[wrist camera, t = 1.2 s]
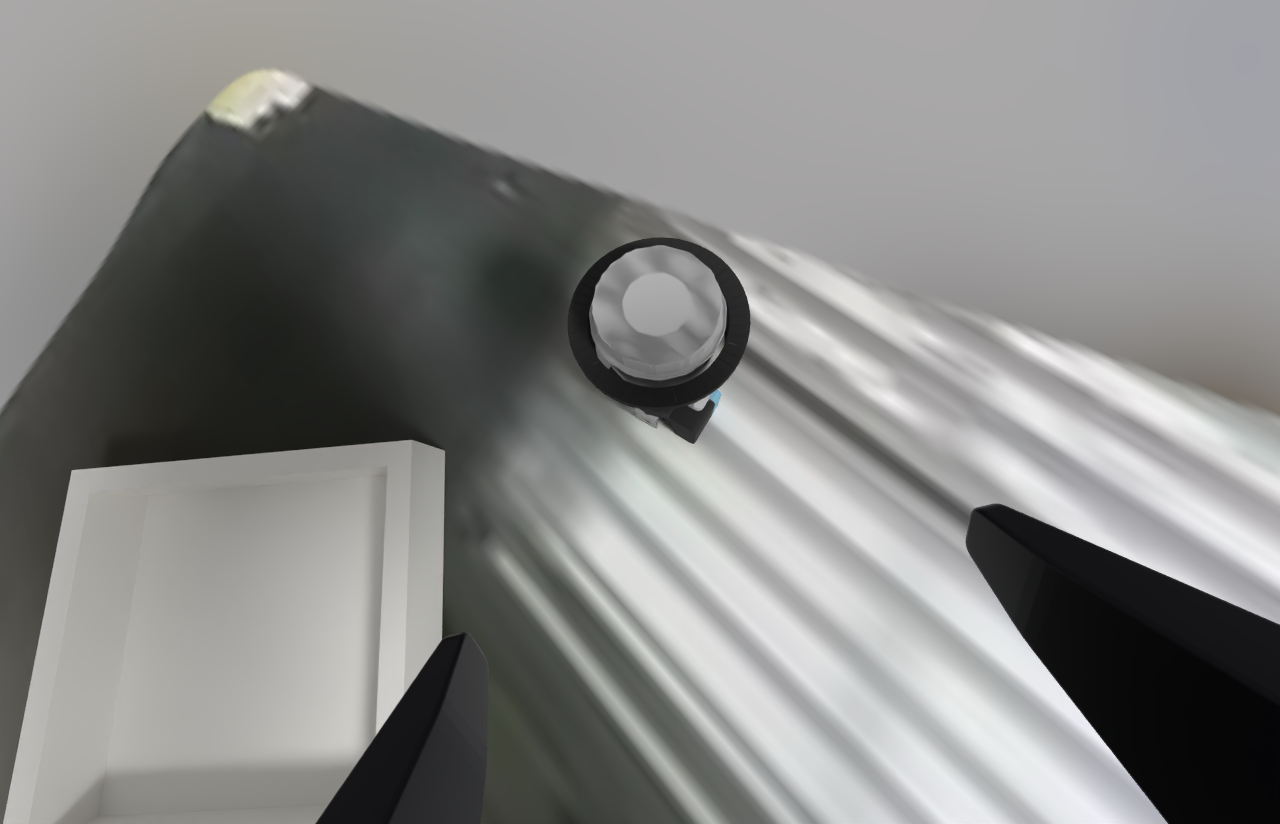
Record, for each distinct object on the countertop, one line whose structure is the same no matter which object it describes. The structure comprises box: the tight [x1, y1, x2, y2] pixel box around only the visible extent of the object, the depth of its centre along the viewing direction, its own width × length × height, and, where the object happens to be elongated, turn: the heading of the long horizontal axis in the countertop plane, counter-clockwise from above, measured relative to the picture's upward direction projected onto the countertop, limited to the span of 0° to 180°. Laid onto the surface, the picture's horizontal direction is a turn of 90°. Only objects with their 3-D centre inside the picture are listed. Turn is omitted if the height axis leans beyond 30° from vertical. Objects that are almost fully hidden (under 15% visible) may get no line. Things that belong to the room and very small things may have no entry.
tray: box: [3, 440, 445, 824], centre depth 20 cm, size 15×15×3 cm
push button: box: [568, 238, 750, 444], centre depth 18 cm, size 7×5×10 cm
